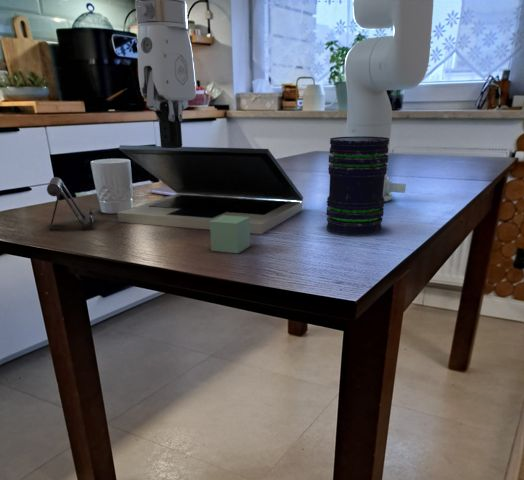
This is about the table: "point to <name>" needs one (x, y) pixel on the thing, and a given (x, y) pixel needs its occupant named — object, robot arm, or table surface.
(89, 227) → the tablet stand
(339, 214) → the storage jar
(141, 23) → the robot arm
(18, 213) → the table surface
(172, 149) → the laptop screen
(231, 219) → the block
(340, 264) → the table surface
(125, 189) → the white cup
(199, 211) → the laptop base
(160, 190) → the mobile phone
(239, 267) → the table surface
